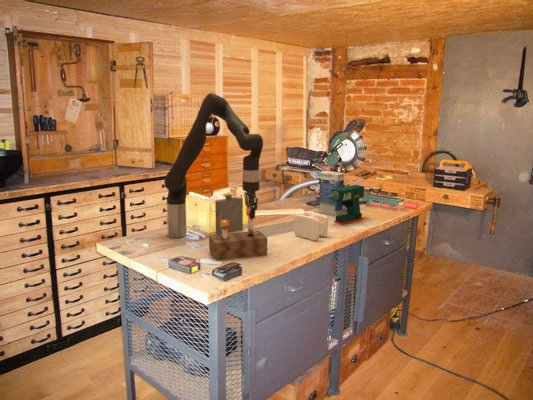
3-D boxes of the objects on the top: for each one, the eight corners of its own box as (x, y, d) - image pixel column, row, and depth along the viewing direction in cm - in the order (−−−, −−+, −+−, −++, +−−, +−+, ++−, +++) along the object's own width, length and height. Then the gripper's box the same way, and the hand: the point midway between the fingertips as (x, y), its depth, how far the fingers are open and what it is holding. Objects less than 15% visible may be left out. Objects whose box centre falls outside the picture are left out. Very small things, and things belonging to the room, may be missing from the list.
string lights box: (342, 214, 269) (345, 173, 263) (335, 217, 263) (338, 174, 257) (324, 210, 277) (326, 170, 271) (317, 213, 272) (319, 171, 266)
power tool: (327, 229, 238) (329, 193, 233) (318, 226, 243) (319, 191, 238) (363, 219, 258) (365, 186, 254) (353, 217, 263) (355, 184, 259)
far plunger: (247, 241, 198) (247, 209, 194) (245, 238, 202) (245, 207, 198) (256, 240, 199) (256, 208, 196) (253, 237, 203) (253, 206, 199)
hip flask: (217, 234, 226) (217, 196, 222) (213, 232, 230) (213, 195, 225) (243, 229, 235) (243, 193, 231) (240, 228, 239) (239, 192, 234)
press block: (214, 260, 191) (214, 243, 189) (209, 251, 202) (209, 234, 200) (267, 255, 198) (267, 238, 196) (259, 246, 209) (259, 230, 207)
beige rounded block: (292, 235, 227) (293, 214, 224) (304, 231, 234) (305, 210, 232) (316, 242, 217) (317, 219, 214) (328, 237, 225) (329, 215, 222)
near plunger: (221, 254, 195) (221, 222, 192) (219, 251, 199) (219, 219, 196) (230, 253, 197) (230, 221, 193) (228, 250, 200) (228, 219, 197)
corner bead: (256, 240, 221) (256, 230, 220) (247, 235, 228) (247, 226, 227) (301, 230, 237) (302, 222, 236) (291, 226, 244) (291, 218, 243)
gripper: (238, 177, 199) (238, 213, 203) (247, 183, 186) (247, 221, 190) (254, 176, 202) (254, 212, 206) (264, 182, 189) (263, 220, 192)
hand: (250, 216), depth 198 cm, fingers closed on far plunger, 4 cm apart
